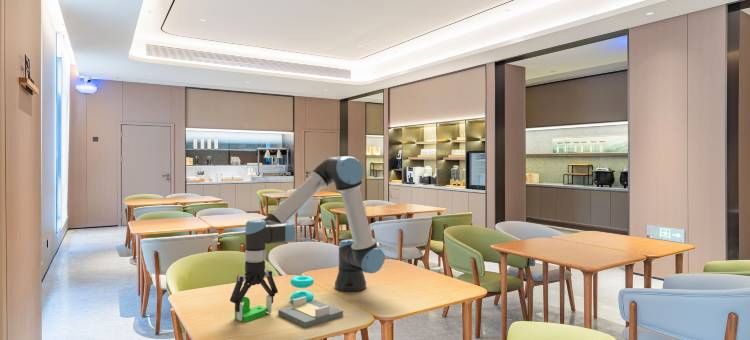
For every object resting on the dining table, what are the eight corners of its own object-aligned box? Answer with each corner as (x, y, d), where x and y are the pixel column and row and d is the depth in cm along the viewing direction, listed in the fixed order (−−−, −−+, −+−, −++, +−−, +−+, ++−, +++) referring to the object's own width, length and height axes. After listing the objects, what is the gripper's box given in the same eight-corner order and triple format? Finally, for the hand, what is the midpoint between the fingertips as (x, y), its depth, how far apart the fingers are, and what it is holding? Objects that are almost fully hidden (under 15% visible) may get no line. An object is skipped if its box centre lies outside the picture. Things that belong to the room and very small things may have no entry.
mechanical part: (245, 322, 166) (245, 301, 166) (234, 318, 170) (234, 298, 169) (269, 313, 176) (269, 293, 176) (259, 310, 180) (259, 290, 179)
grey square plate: (315, 304, 187) (315, 292, 187) (342, 315, 174) (343, 303, 174) (278, 314, 175) (278, 302, 174) (305, 327, 162) (305, 314, 162)
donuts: (307, 282, 186) (286, 279, 189) (306, 305, 186) (285, 302, 189) (317, 276, 195) (297, 273, 198) (317, 298, 195) (297, 296, 199)
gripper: (276, 254, 182) (276, 306, 183) (220, 263, 165) (220, 320, 166) (287, 257, 177) (286, 311, 177) (230, 267, 160) (229, 326, 160)
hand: (254, 315), depth 172 cm, fingers closed on mechanical part, 12 cm apart
